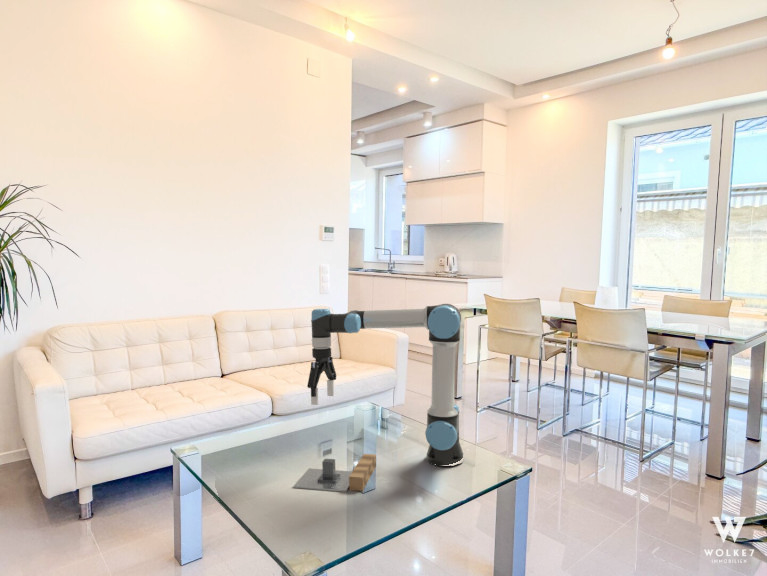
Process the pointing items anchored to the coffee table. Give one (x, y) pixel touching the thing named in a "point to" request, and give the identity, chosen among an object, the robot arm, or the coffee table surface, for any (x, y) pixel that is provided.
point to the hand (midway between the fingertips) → (323, 400)
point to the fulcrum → (325, 478)
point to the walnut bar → (362, 472)
